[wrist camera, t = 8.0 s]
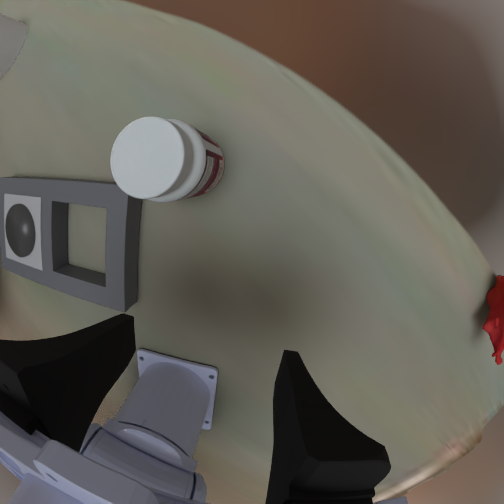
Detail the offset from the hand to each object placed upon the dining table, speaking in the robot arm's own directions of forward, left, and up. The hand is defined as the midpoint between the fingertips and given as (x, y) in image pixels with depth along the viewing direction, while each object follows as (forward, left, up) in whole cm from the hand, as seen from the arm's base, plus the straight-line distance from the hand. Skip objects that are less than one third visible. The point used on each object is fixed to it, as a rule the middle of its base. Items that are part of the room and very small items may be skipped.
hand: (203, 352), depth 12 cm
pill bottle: (+8, +4, -10) cm, 14 cm away
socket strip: (+1, +17, -10) cm, 20 cm away
